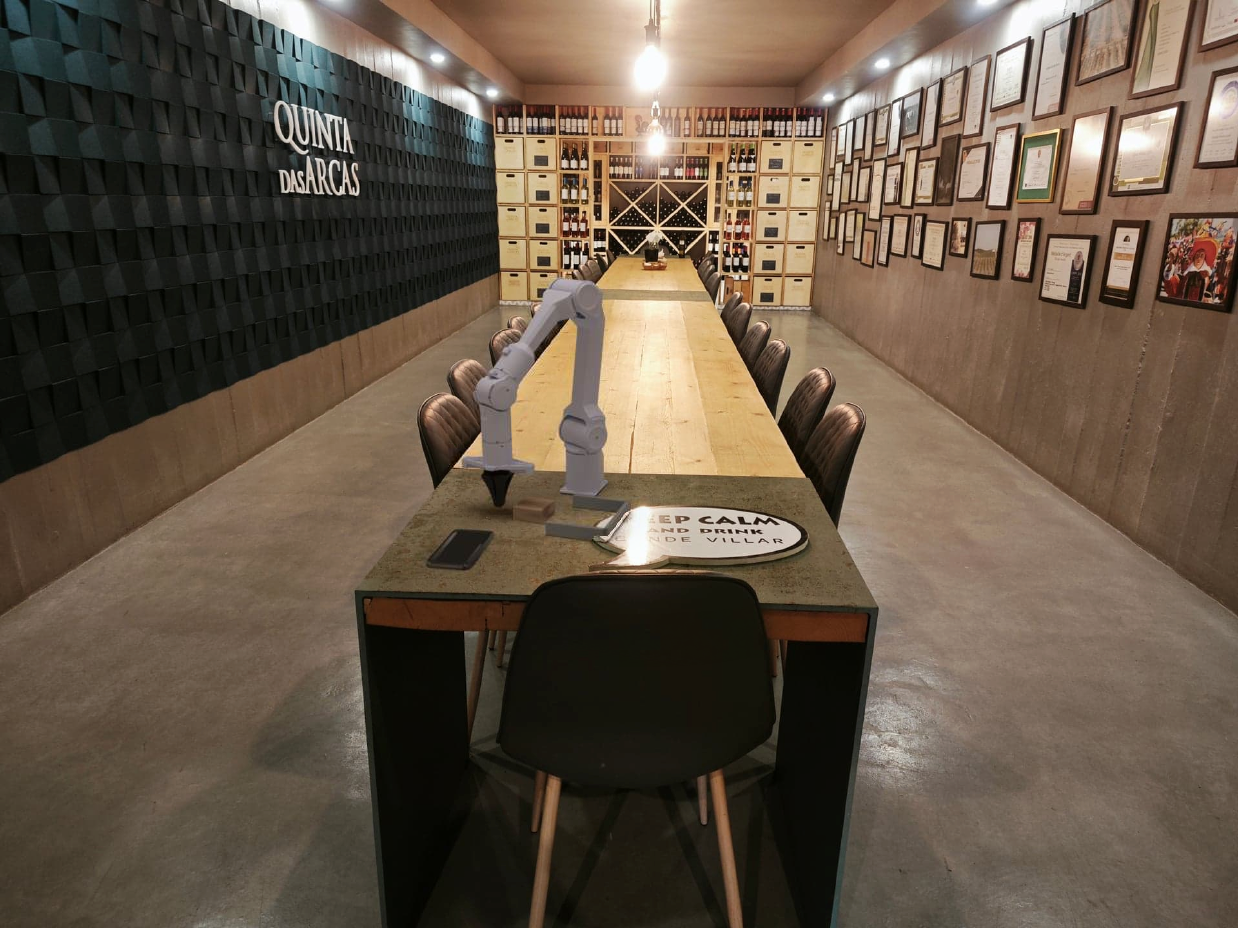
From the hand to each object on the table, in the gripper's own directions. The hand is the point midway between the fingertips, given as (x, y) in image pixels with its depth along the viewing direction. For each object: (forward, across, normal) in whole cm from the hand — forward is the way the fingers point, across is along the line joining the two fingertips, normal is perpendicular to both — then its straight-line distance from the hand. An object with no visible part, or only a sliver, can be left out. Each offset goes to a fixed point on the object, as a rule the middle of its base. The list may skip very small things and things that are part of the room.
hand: (499, 505), depth 154 cm
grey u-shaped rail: (+1, +19, 0) cm, 19 cm away
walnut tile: (+2, +7, 0) cm, 7 cm away
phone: (+2, +1, -18) cm, 19 cm away
